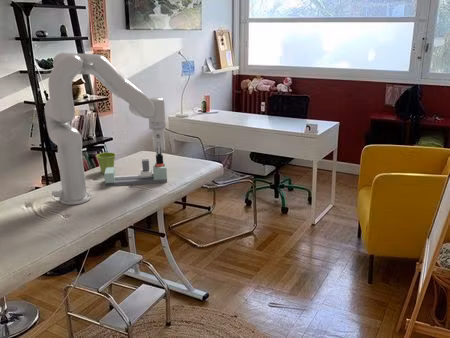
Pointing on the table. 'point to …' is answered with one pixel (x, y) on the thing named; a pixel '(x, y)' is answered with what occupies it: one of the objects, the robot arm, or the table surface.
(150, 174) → the carriage
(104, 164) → the plant pot
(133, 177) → the rail track
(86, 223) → the table surface
